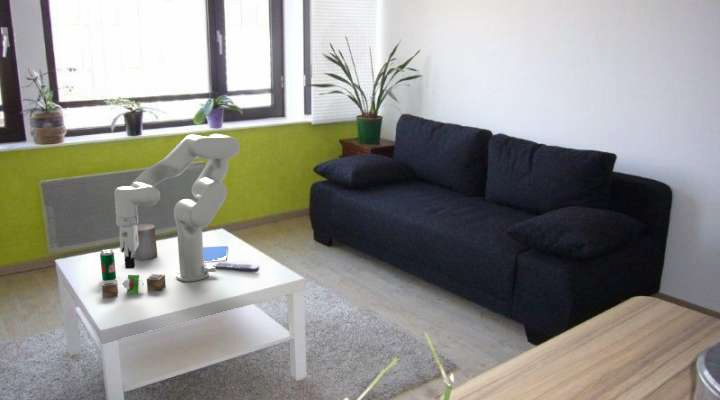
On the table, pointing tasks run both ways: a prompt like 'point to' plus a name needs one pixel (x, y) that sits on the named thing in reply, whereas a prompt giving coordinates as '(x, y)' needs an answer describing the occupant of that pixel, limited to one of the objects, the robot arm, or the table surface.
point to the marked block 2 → (156, 283)
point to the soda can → (107, 265)
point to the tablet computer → (214, 252)
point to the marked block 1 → (109, 288)
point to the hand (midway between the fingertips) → (130, 267)
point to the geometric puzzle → (132, 284)
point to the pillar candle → (146, 242)
